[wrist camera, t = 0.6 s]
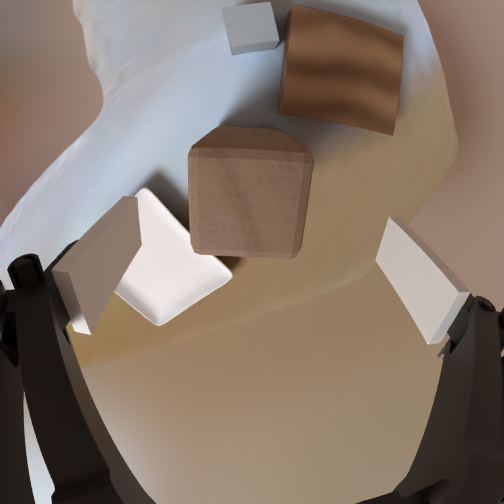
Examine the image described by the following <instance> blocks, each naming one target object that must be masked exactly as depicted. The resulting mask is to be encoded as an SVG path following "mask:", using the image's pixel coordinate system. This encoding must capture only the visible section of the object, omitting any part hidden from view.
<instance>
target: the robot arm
mask: <svg viewBox="0 0 504 504" xmlns="http://www.w3.org/2000/svg"><path fill="white" fill-rule="evenodd" d="M141 246H142V241H141V232H140V222H139V211H138V198H137V197H123V198H122V199H121V200H119V201H118V202H117V203H116V204H115V205H114V206H113V207H112V208H111V209H110V210H109V211H107V212H106V213H105V214H104V215H103V216H102V217H101V218H100V219H99V220H98V221H97V222H96V223H95V224H94V225H93V226H92V227H91V228H90V229H89V230H88V231H87V232H86V233H85V234H84V235H83V236H82V237H81V238H80V239H79V240H76V241H74V242H72V243H71V244H69V245H68V246H67V247H66V248H65V249H64V250H63V251H62V253H60V254H59V255H58V256H57V259H55V260H54V261H53V262H52V263H51V264H50V265H49V266H48V267H47V269H46V270H45V271H44V272H43V269H42V266H41V263H40V259H39V257H38V255H36V254H26V255H22V256H20V257H18V258H16V259H15V260H14V261H12V263H11V264H10V265H9V266H8V269H7V271H8V273H9V276H10V278H11V281H12V283H13V286H14V288H15V289H13V290H5V288H4V286H3V284H2V282H1V280H0V504H35V500H34V496H33V492H32V487H31V482H30V476H29V470H28V463H27V456H26V446H25V435H24V410H23V400H24V399H23V398H24V392H25V396H26V401H27V405H28V410H29V413H30V418H31V421H32V425H33V428H34V432H35V435H36V438H37V441H38V444H39V447H40V450H41V453H42V456H43V458H44V461H45V464H46V466H47V469H48V471H49V474H50V476H51V478H52V481H53V483H54V487H55V491H54V493H53V494H52V496H51V498H52V504H156V503H155V502H154V501H153V500H152V498H151V497H149V496H148V494H147V493H146V492H145V491H144V490H143V488H142V487H141V485H140V484H139V482H138V481H137V479H136V478H135V476H134V475H133V473H132V472H131V470H130V469H129V467H128V466H127V464H126V462H125V461H124V459H123V457H122V456H121V454H120V452H119V451H118V449H117V447H116V445H115V444H114V442H113V440H112V438H111V436H110V434H109V433H108V430H107V428H106V427H105V425H104V423H103V421H102V419H101V416H100V414H99V412H98V410H97V408H96V406H95V404H94V401H93V399H92V397H91V394H90V392H89V390H88V387H87V385H86V382H85V380H84V377H83V375H82V372H81V369H80V367H79V364H78V361H77V358H76V355H75V352H74V349H73V346H72V343H71V340H70V337H69V333H68V331H67V329H66V326H67V324H68V322H69V321H71V324H72V326H73V328H74V330H75V331H76V332H80V333H85V334H90V335H91V334H92V332H93V330H94V328H95V326H96V325H97V323H98V321H99V319H100V317H101V315H102V313H103V311H104V309H105V307H106V306H107V304H108V302H109V300H110V298H111V296H112V295H113V293H114V291H115V289H116V287H117V286H118V284H119V282H120V280H121V279H122V277H123V275H124V274H125V272H126V270H127V269H128V267H129V265H130V264H131V262H132V260H133V259H134V257H135V255H136V254H137V252H138V251H139V249H140V247H141ZM376 262H377V263H378V265H379V266H380V268H381V269H382V271H383V272H384V274H385V275H386V276H387V278H388V280H389V281H390V283H391V284H392V286H393V287H394V289H395V290H396V292H397V294H398V295H399V297H400V298H401V300H402V301H403V303H404V305H405V306H406V308H407V309H408V311H409V313H410V314H411V316H412V318H413V320H414V321H415V323H416V324H417V326H418V328H419V330H420V332H421V333H422V335H423V337H424V339H425V340H426V342H427V344H428V345H429V344H435V343H440V342H441V341H442V339H443V337H444V336H445V334H446V333H448V334H449V336H450V339H449V340H448V342H447V343H446V345H445V346H444V347H443V349H442V350H441V352H440V353H439V355H438V357H440V356H441V355H442V354H444V357H443V365H442V369H441V374H440V379H439V383H438V388H437V391H436V396H435V399H434V403H433V406H432V410H431V414H430V417H429V420H428V423H427V426H426V429H425V432H424V435H423V438H422V440H421V443H420V446H419V449H418V451H417V454H416V456H415V459H414V461H413V463H412V466H411V468H410V470H409V472H408V474H407V476H406V477H405V478H404V479H403V480H402V482H400V484H399V485H397V487H396V488H395V489H394V490H393V492H391V493H388V494H385V495H382V496H379V497H376V498H372V499H369V500H365V501H362V502H359V503H356V504H504V356H503V357H501V352H502V351H503V349H504V308H503V309H502V311H501V312H497V311H496V309H495V307H494V305H493V304H492V303H491V302H490V301H489V300H487V299H485V298H483V297H481V296H476V297H475V298H474V297H473V296H472V294H471V293H470V291H469V290H468V288H467V287H466V286H465V285H464V284H463V283H462V281H461V280H460V279H459V278H458V277H457V276H456V275H455V273H454V272H453V271H452V270H451V269H450V268H449V267H448V266H447V265H446V264H445V263H444V262H443V261H442V259H441V258H440V257H439V256H438V255H437V254H436V253H435V252H434V251H433V250H432V249H431V248H430V247H429V246H428V245H427V244H426V243H425V242H424V241H423V240H422V239H421V238H420V237H419V236H418V235H417V234H416V233H415V232H414V231H413V230H412V229H411V228H410V227H409V226H408V225H407V224H405V223H404V222H403V221H402V220H401V219H400V218H394V217H389V218H388V222H387V225H386V228H385V232H384V235H383V238H382V241H381V244H380V248H379V251H378V254H377V257H376Z"/></svg>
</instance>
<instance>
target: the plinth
mask: <svg viewBox="0 0 504 504" xmlns="http://www.w3.org/2000/svg"><path fill="white" fill-rule="evenodd" d="M402 56H403V36H401V35H399V34H396V33H394V32H391V31H389V30H386V29H383V28H381V27H378V26H375V25H372V24H369V23H366V22H363V21H360V20H357V19H353V18H350V17H346V16H343V15H339V14H335V13H331V12H327V11H322V10H318V9H313V8H308V7H302V6H296V5H292V7H291V9H290V11H289V13H288V15H287V24H286V34H285V45H284V55H283V65H282V75H281V85H280V95H279V105H278V113H279V114H285V115H293V116H300V117H307V118H313V119H319V120H325V121H330V122H336V123H341V124H346V125H350V126H355V127H359V128H364V129H368V130H372V131H376V132H380V133H384V134H388V135H391V136H393V133H394V127H395V121H396V114H397V107H398V99H399V90H400V81H401V70H402Z"/></svg>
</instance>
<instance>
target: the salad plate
mask: <svg viewBox="0 0 504 504" xmlns="http://www.w3.org/2000/svg"><path fill="white" fill-rule="evenodd" d="M133 197H137V198H138V211H139V222H140V232H141V241H142V246H141V247H140V249H139V251H138V252H137V254H136V255H135V257H134V259H133V260H132V262H131V264H130V265H129V267H128V269H127V270H126V272H125V274H124V275H123V277H122V279H121V280H120V282H119V284H118V286H117V287H116V289H115V291H114V292H115V293H116V294H118V295H119V296H120V297H121V298H122V299H124V300H125V301H126V302H127V303H128V304H130V305H131V306H132V307H133V308H134V309H136V310H137V311H138V312H139V313H141V314H142V315H143V316H144V317H146V318H147V319H148V320H149V321H151V322H152V323H154V324H155V325H157V326H161V325H163V324H165V323H166V322H168V321H169V320H171V319H172V318H174V317H175V316H177V315H178V314H180V313H181V312H183V311H184V310H186V309H187V308H188V307H190V306H191V305H193V304H194V303H196V302H197V301H199V300H200V299H202V298H204V297H205V296H207V295H208V294H210V293H212V292H213V291H215V290H216V289H218V288H220V287H221V286H223V285H224V284H226V283H227V282H228V281H230V280H231V278H232V277H233V273H232V271H231V270H230V269H229V268H228V267H227V266H226V265H225V264H224V263H223V262H222V261H220V260H219V259H218V258H217V257H216V256H215V255H200V254H197V253H194V251H193V248H192V246H191V244H190V232H189V231H188V230H187V229H186V228H185V227H184V226H183V225H182V224H181V223H180V222H179V221H178V220H177V218H176V217H175V216H174V215H173V214H172V213H171V212H170V211H169V210H168V208H167V207H166V206H165V205H164V204H163V203H162V202H161V201H160V199H159V198H158V197H157V196H156V195H155V194H154V193H153V192H152V191H151V190H150V189H148V188H146V187H143V188H141V189H140V190H139V191H138V192H137V193H136V194H135V195H134V196H133Z"/></svg>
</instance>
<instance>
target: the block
mask: <svg viewBox="0 0 504 504" xmlns="http://www.w3.org/2000/svg"><path fill="white" fill-rule="evenodd" d="M313 163H314V161H313V158H312V154H311V152H309V151H308V150H307V149H306V148H304V147H303V146H302V145H300V144H299V143H298V142H297V141H295V140H294V139H293V138H291V137H290V136H289V135H287V134H286V133H284V132H283V131H281V130H279V129H274V128H260V127H242V126H219V127H216V128H215V129H213V130H212V131H211V132H209V133H208V134H207V135H205V136H204V137H203V138H202V139H200V140H199V141H198V142H197V143H195V144H194V145H193V146H192V147H191V149H190V151H189V154H188V195H189V224H190V244H191V246H192V248H193V251H194V253H197V254H200V255H216V256H240V257H264V258H289V259H290V258H294V257H297V255H298V253H299V251H300V249H301V245H302V239H303V233H304V226H305V220H306V213H307V207H308V200H309V193H310V186H311V178H312V171H313Z"/></svg>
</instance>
